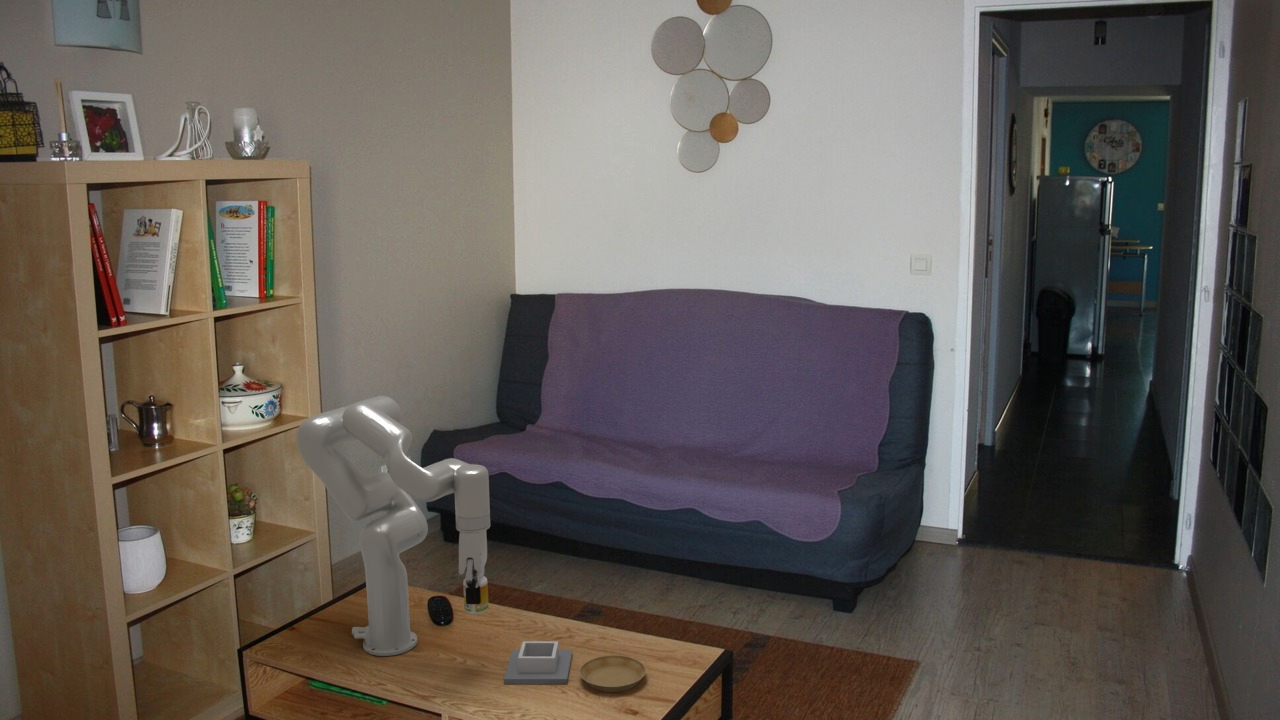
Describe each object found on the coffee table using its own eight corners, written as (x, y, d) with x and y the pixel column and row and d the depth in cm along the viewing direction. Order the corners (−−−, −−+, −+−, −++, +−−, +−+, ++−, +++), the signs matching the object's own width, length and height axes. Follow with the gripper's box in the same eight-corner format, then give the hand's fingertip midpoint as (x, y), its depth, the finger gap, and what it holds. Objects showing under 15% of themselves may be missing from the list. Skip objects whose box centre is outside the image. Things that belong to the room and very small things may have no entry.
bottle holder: (503, 684, 227) (503, 664, 226) (512, 654, 240) (512, 635, 240) (567, 684, 226) (566, 664, 226) (572, 654, 240) (571, 635, 239)
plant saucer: (582, 665, 236) (582, 654, 235) (646, 665, 235) (646, 654, 235) (576, 697, 221) (576, 686, 221) (645, 698, 221) (645, 686, 220)
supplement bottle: (491, 605, 233) (489, 564, 232) (485, 615, 228) (483, 574, 226) (468, 604, 234) (466, 563, 232) (461, 614, 229) (459, 573, 227)
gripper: (463, 508, 236) (466, 582, 239) (448, 534, 219) (451, 614, 222) (496, 508, 236) (498, 582, 239) (483, 534, 219) (486, 614, 222)
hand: (476, 597), depth 231 cm, fingers closed on supplement bottle, 5 cm apart
